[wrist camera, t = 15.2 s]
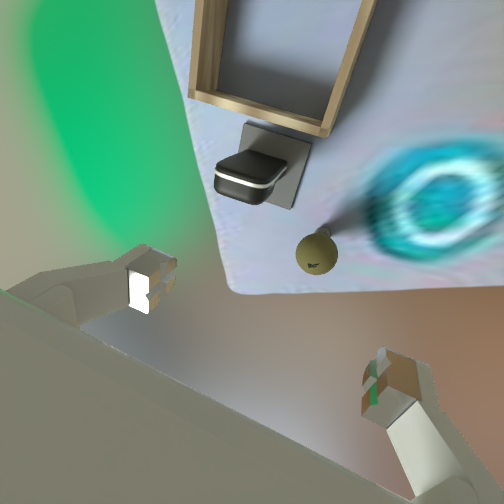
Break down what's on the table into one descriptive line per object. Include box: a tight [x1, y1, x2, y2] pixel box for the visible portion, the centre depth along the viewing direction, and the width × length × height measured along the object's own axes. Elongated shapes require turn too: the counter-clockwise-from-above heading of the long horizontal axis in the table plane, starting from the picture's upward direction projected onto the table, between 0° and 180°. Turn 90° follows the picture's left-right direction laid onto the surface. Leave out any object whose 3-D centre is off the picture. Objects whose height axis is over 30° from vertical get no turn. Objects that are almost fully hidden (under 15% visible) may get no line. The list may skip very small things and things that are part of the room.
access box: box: [188, 0, 378, 139], centre depth 32 cm, size 18×16×6 cm
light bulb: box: [296, 227, 338, 275], centre depth 40 cm, size 6×6×10 cm
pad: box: [238, 123, 312, 210], centre depth 42 cm, size 10×10×1 cm
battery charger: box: [214, 149, 287, 205], centre depth 37 cm, size 7×4×11 cm, turn 79°
